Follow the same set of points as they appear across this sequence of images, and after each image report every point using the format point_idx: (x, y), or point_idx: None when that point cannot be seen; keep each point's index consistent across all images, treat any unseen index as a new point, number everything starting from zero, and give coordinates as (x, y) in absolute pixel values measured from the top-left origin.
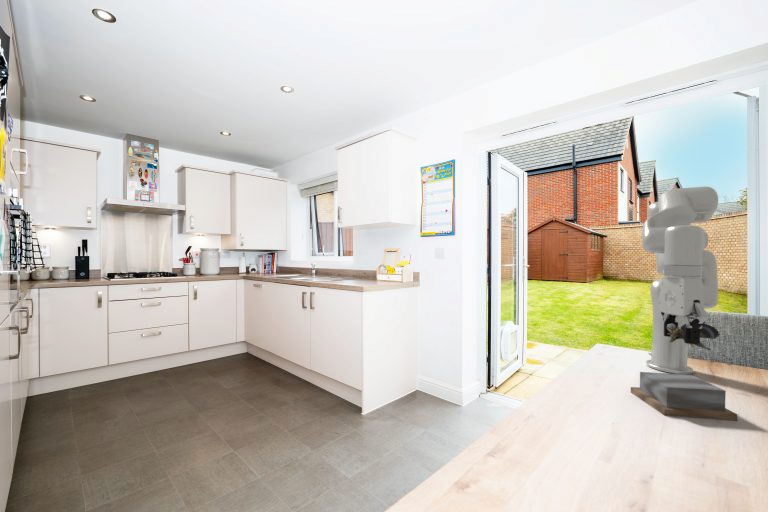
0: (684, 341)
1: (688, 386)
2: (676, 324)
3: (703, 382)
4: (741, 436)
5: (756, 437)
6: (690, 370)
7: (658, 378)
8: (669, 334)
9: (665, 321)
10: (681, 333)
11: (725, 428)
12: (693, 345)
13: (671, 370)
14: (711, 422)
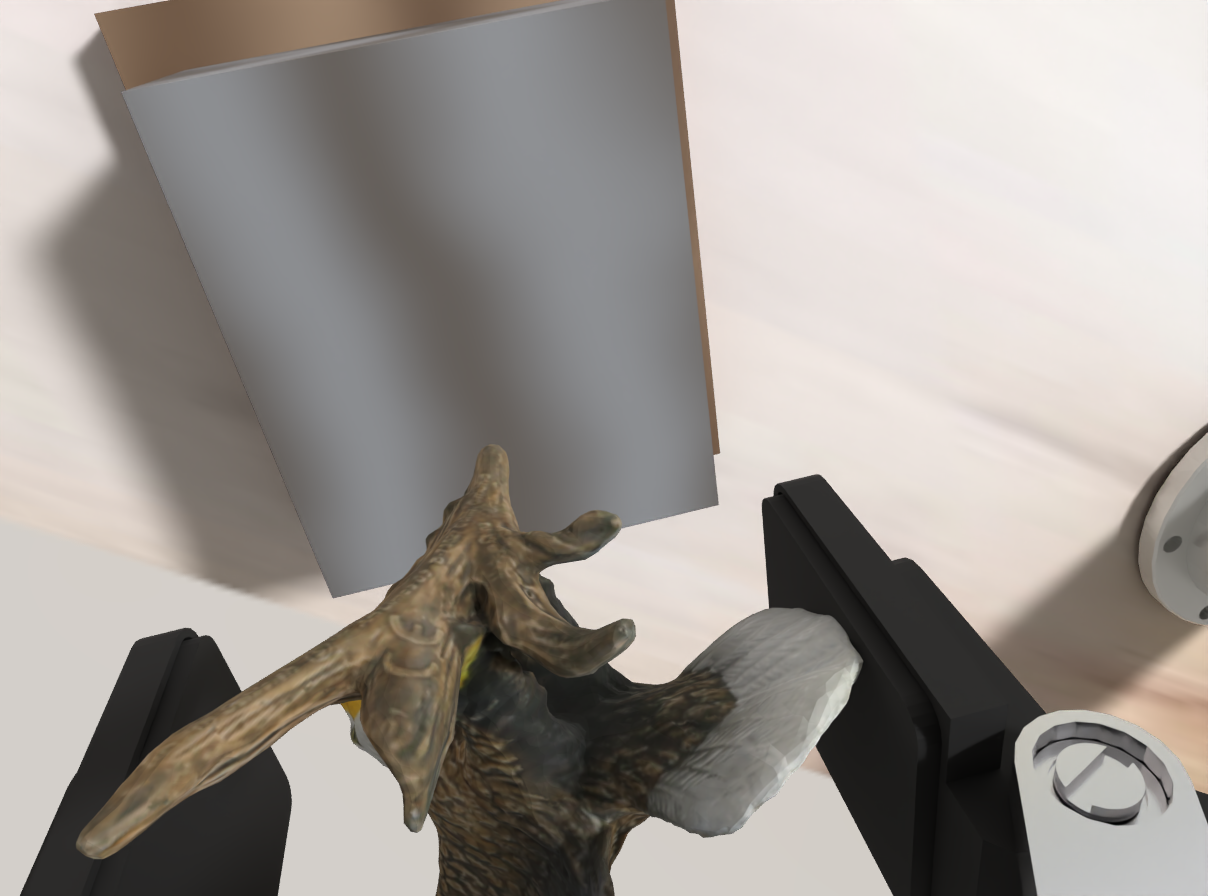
0: (161, 640)
1: (292, 345)
2: (892, 863)
3: None
4: (2, 437)
5: (52, 515)
6: (1170, 600)
7: (456, 126)
8: (544, 534)
9: (1068, 741)
10: (476, 749)
11: (105, 397)
12: (347, 714)
13: (1180, 488)
14: (179, 351)
